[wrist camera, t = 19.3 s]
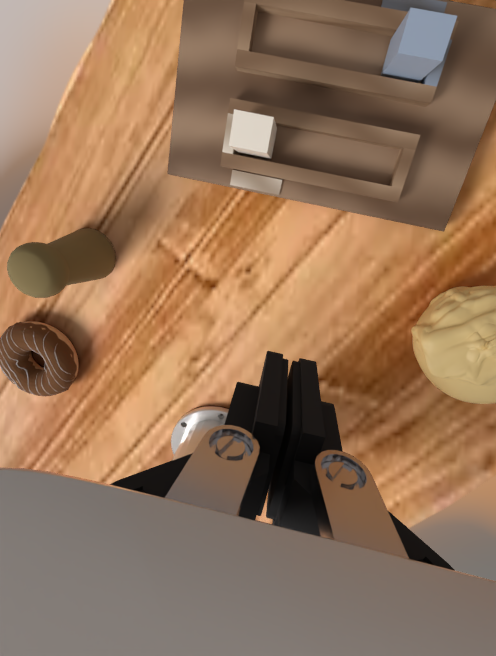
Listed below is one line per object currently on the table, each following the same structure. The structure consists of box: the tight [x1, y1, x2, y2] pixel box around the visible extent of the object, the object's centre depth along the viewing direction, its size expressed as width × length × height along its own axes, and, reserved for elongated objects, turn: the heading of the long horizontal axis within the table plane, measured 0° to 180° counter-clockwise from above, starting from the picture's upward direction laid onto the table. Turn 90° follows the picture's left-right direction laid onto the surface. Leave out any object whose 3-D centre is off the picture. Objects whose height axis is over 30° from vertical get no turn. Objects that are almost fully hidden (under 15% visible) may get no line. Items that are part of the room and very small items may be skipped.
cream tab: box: [229, 109, 277, 159], centre depth 31 cm, size 3×3×6 cm
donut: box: [0, 321, 79, 396], centre depth 46 cm, size 11×11×4 cm
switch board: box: [168, 0, 496, 231], centre depth 32 cm, size 17×28×3 cm, turn 79°
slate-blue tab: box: [381, 8, 457, 83], centre depth 27 cm, size 3×3×6 cm
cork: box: [7, 228, 116, 298], centre depth 37 cm, size 6×6×11 cm
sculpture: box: [411, 286, 496, 404], centre depth 35 cm, size 11×12×11 cm
